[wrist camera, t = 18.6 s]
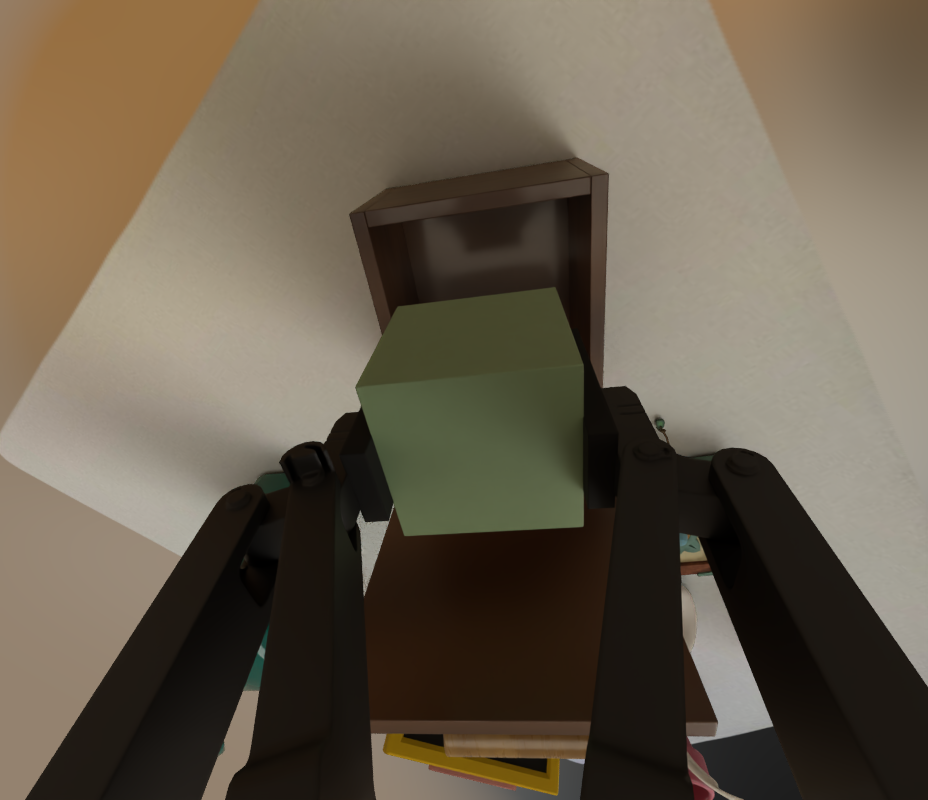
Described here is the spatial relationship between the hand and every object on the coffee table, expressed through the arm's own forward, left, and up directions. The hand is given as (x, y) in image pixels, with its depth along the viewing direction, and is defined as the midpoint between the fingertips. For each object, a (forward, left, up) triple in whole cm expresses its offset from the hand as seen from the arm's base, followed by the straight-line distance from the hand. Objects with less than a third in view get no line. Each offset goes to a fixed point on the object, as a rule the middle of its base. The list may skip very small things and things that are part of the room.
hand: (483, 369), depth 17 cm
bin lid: (+7, +4, +1) cm, 9 cm away
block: (0, 0, 0) cm, 0 cm away
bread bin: (+2, +1, -16) cm, 16 cm away
